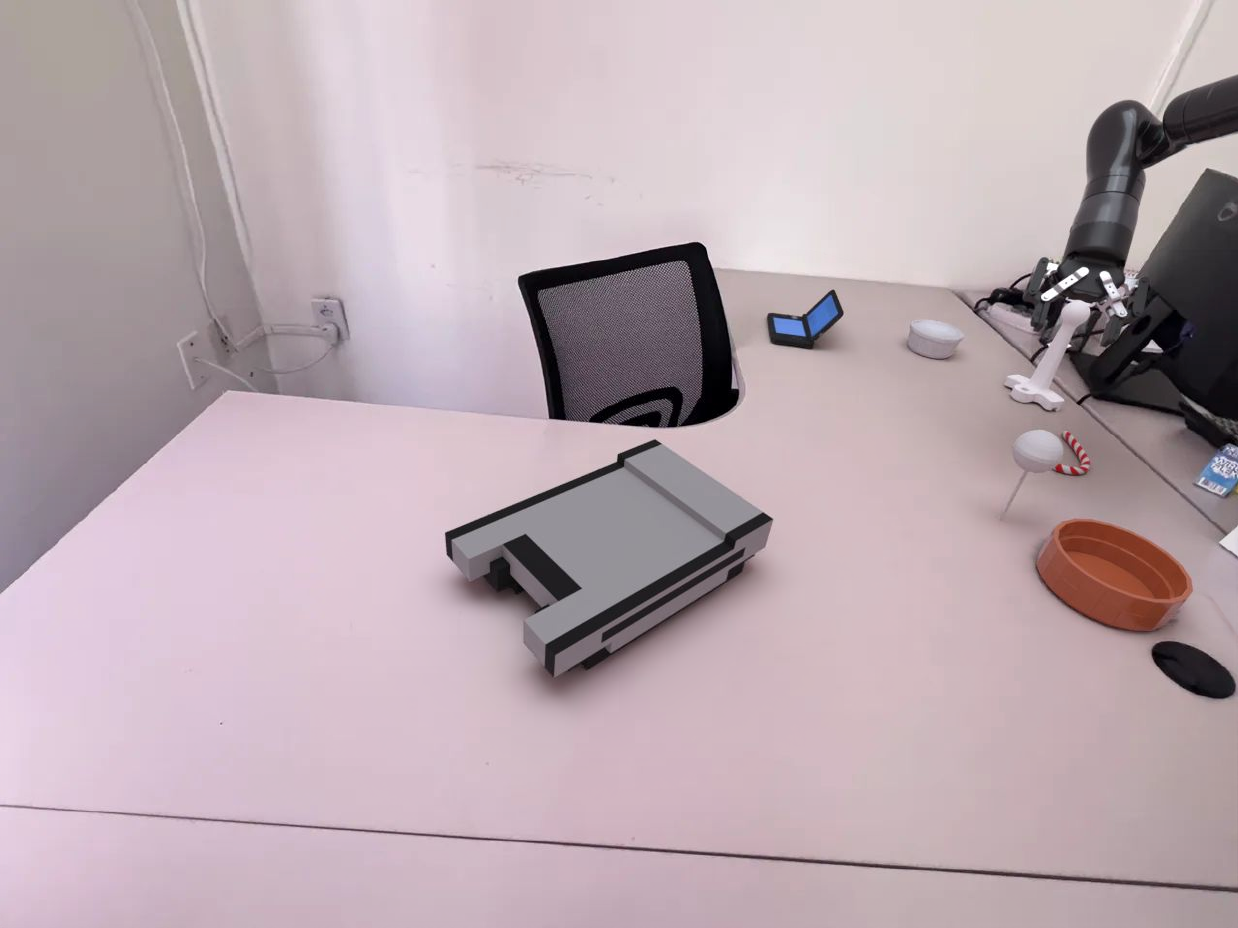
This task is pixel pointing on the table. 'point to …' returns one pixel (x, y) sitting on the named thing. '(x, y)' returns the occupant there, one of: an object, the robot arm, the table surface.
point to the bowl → (1113, 574)
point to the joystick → (1049, 362)
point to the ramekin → (933, 338)
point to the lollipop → (1035, 455)
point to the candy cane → (1079, 452)
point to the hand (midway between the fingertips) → (1071, 337)
